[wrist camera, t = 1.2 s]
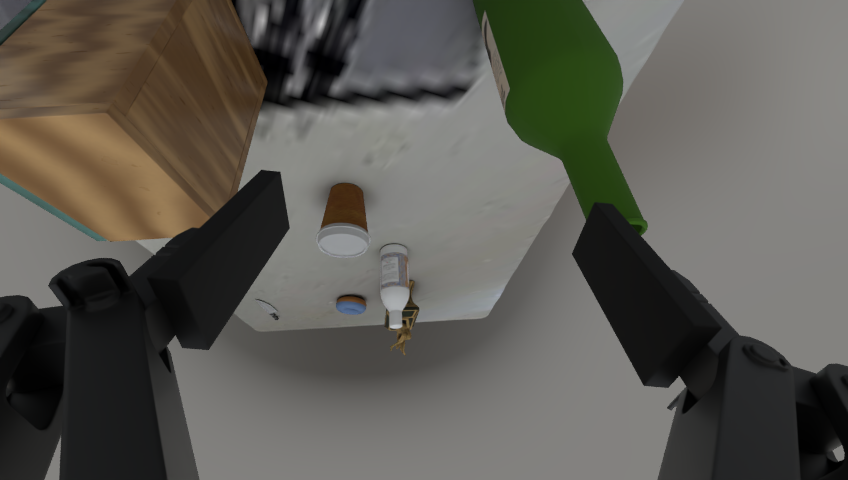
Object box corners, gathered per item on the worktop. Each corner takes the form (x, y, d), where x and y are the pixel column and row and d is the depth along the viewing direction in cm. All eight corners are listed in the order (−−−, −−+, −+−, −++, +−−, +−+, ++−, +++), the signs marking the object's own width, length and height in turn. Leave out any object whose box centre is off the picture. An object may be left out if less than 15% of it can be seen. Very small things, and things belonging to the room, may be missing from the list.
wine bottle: (457, -29, 36) (527, 229, 19) (541, -91, 32) (720, 163, 15) (489, 42, 42) (561, 279, 26) (562, -2, 38) (701, 241, 22)
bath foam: (405, 256, 90) (409, 331, 79) (379, 256, 88) (379, 331, 78) (409, 243, 84) (413, 322, 74) (381, 242, 83) (381, 322, 72)
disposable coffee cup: (380, 197, 67) (381, 249, 61) (344, 213, 71) (340, 263, 65) (350, 169, 60) (346, 225, 54) (310, 189, 64) (303, 243, 58)
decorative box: (385, 277, 100) (386, 344, 90) (417, 277, 102) (421, 343, 92) (383, 302, 117) (383, 360, 107) (410, 301, 119) (413, 359, 109)
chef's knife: (264, 297, 107) (255, 298, 107) (264, 301, 106) (254, 302, 106) (284, 317, 123) (276, 318, 123) (284, 320, 123) (275, 321, 122)
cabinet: (184, 86, 44) (109, 242, 32) (93, -46, 32) (-82, 123, 20) (267, 81, 45) (226, 234, 32) (208, -51, 33) (106, 113, 20)
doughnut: (336, 304, 116) (335, 317, 114) (336, 293, 108) (335, 306, 105) (365, 304, 118) (365, 317, 116) (367, 293, 110) (367, 307, 107)
